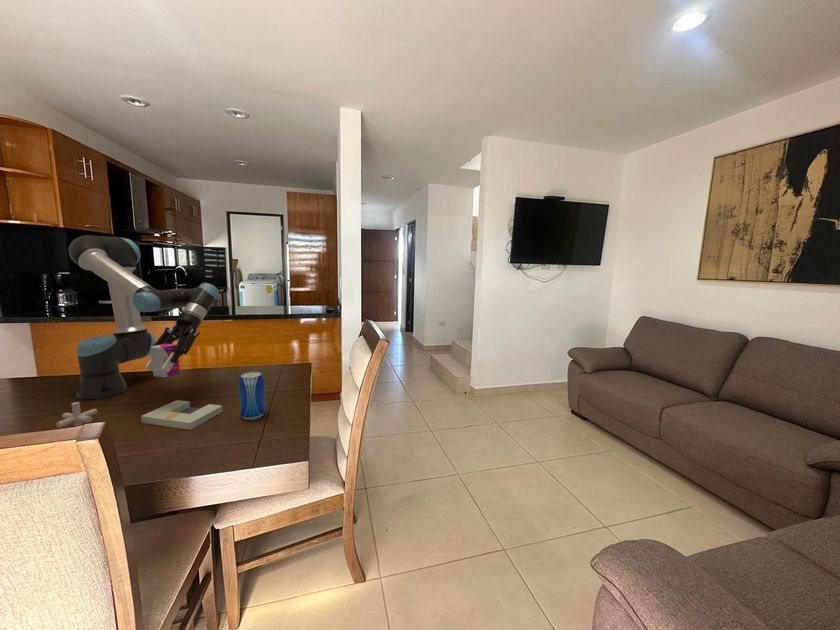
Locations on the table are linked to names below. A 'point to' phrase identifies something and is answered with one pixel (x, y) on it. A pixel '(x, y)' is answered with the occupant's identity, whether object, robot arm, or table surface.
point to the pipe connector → (76, 416)
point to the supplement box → (163, 360)
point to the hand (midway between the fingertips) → (156, 369)
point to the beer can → (251, 395)
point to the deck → (181, 415)
